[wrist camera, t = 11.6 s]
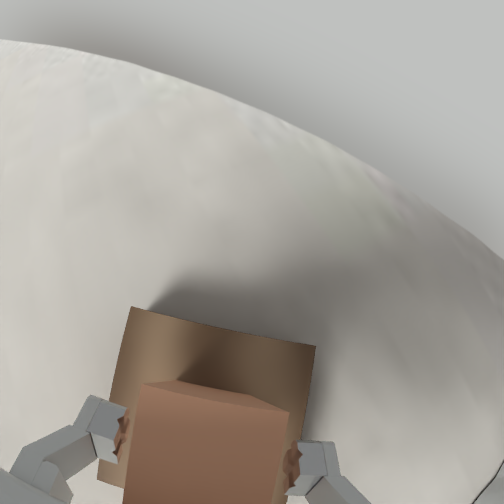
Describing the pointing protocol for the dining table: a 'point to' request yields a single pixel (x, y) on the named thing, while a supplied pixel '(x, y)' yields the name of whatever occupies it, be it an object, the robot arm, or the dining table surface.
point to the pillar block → (203, 446)
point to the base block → (209, 373)
